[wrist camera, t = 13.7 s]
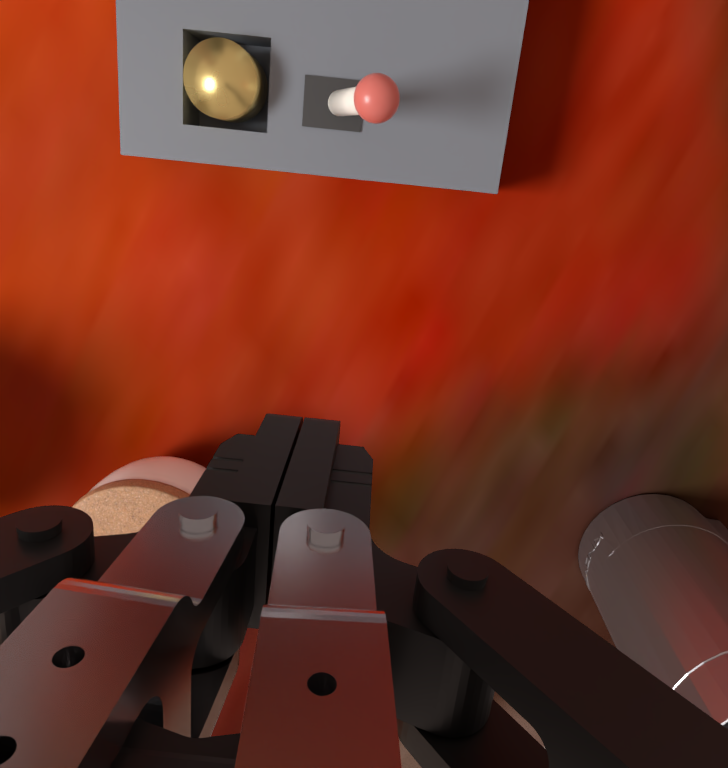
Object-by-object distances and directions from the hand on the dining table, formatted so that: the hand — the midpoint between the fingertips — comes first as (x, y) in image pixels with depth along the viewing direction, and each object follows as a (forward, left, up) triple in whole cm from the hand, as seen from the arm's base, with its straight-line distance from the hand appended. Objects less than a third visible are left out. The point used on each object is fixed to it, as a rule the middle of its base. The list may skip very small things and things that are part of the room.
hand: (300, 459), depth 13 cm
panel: (+3, -13, -27) cm, 30 cm away
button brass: (+8, -9, -25) cm, 28 cm away
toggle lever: (+2, -9, -23) cm, 25 cm away
